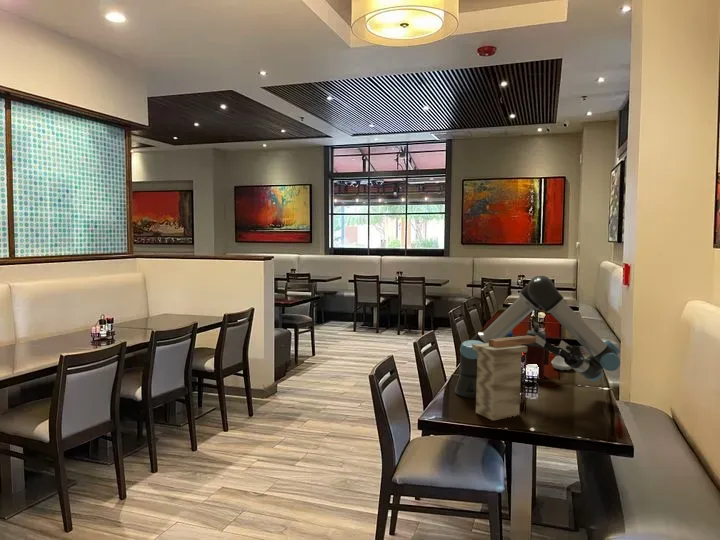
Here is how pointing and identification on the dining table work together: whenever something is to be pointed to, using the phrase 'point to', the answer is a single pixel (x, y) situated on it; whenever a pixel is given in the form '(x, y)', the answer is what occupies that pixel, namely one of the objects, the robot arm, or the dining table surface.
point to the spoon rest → (560, 363)
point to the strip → (512, 341)
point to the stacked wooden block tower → (498, 380)
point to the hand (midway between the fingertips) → (547, 340)
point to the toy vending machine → (537, 351)
